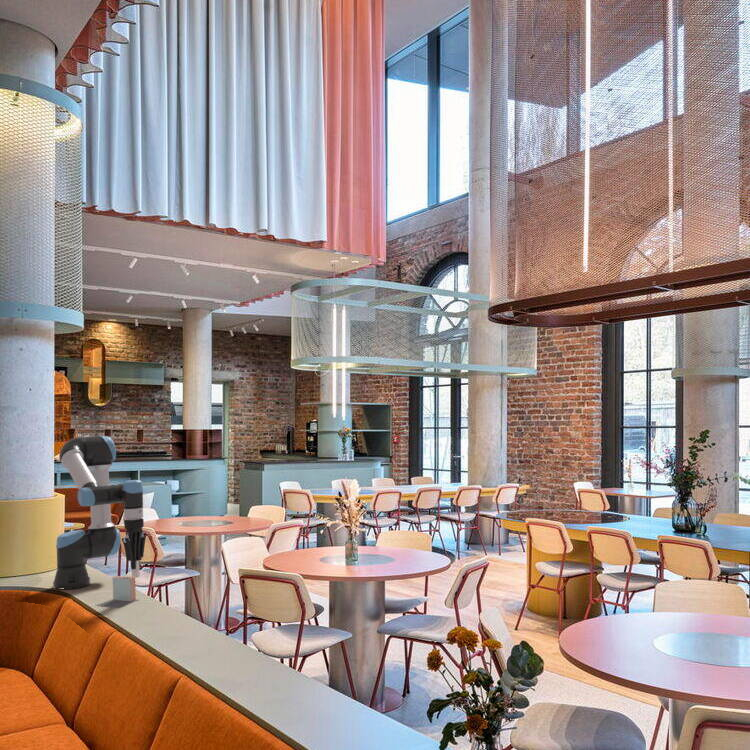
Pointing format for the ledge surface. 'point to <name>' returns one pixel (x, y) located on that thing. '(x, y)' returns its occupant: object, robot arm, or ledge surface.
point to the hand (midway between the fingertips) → (135, 576)
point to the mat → (115, 603)
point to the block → (124, 588)
